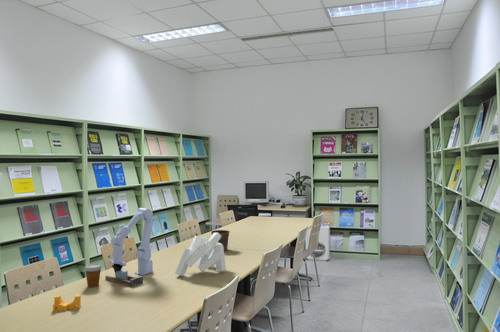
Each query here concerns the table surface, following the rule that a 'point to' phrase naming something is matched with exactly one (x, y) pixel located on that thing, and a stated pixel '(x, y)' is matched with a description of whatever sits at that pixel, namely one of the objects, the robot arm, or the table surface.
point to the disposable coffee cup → (93, 274)
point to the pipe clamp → (62, 305)
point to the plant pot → (223, 237)
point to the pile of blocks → (203, 254)
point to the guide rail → (131, 283)
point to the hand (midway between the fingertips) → (117, 275)
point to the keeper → (122, 274)
